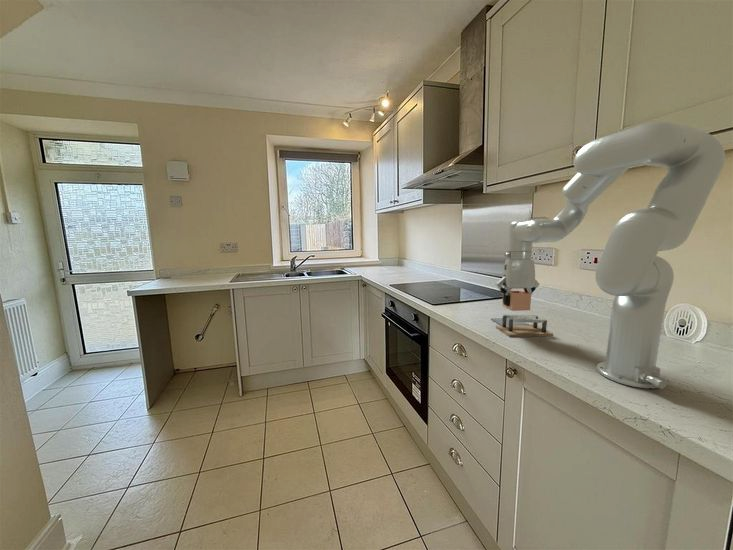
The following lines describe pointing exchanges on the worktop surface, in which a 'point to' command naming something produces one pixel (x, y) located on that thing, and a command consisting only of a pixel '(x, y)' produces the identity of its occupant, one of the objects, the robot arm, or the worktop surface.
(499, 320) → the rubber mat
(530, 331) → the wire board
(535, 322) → the grey small table
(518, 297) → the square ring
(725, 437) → the worktop surface
